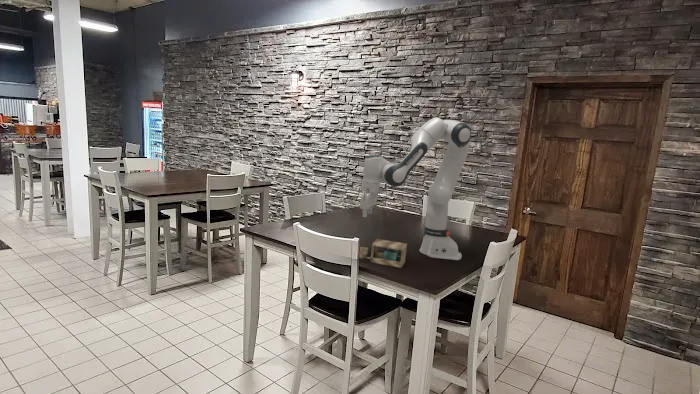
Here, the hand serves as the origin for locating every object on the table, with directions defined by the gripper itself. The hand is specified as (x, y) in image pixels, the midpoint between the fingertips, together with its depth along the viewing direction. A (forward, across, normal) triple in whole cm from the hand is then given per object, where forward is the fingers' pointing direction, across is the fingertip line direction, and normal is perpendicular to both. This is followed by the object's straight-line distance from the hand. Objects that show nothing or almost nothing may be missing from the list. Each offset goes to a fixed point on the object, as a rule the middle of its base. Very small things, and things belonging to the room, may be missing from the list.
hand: (367, 215), depth 196 cm
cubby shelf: (+21, -1, -13) cm, 25 cm away
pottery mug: (+22, +12, -12) cm, 28 cm away
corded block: (+21, -1, -8) cm, 23 cm away
